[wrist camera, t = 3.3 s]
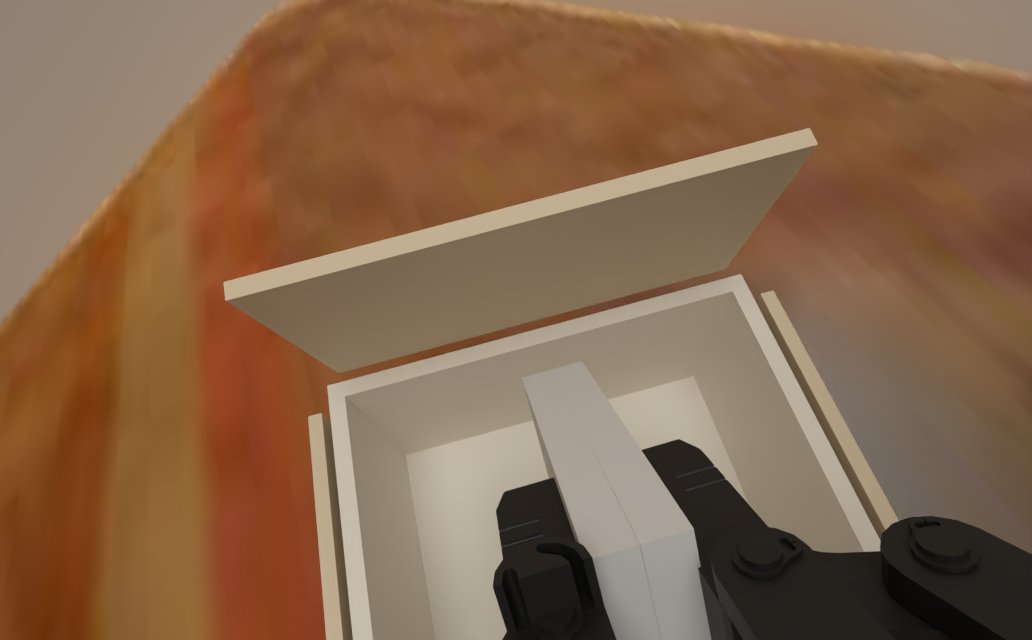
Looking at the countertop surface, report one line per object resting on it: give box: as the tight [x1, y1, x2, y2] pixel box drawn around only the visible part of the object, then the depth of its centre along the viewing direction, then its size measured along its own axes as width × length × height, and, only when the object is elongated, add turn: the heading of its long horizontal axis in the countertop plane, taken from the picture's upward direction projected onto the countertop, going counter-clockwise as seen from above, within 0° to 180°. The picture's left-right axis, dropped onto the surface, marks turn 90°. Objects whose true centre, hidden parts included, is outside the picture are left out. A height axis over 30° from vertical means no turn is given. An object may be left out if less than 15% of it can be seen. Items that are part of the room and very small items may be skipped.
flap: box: [223, 128, 818, 373], centre depth 18 cm, size 15×1×8 cm, turn 104°
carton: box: [308, 274, 899, 640], centre depth 22 cm, size 18×15×9 cm
